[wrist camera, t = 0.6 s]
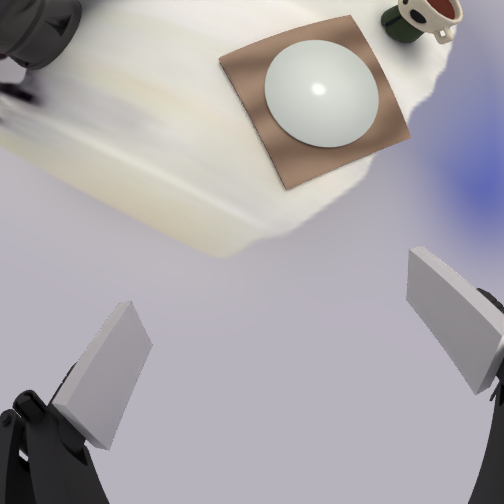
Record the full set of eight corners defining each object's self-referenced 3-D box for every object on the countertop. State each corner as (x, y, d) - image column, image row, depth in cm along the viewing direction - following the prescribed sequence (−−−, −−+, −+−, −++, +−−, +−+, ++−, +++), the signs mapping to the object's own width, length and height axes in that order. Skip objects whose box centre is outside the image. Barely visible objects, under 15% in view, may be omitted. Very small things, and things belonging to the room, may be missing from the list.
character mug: (364, 1, 25) (398, -37, 13) (399, 0, 24) (438, -31, 12) (394, 59, 29) (443, 36, 16) (428, 55, 27) (478, 38, 15)
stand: (219, 61, 30) (218, 58, 29) (347, 18, 27) (350, 14, 25) (285, 188, 37) (286, 189, 35) (406, 137, 33) (411, 137, 32)
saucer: (244, 64, 29) (244, 62, 28) (344, 31, 26) (346, 29, 25) (296, 164, 34) (297, 165, 33) (391, 126, 31) (395, 125, 30)
